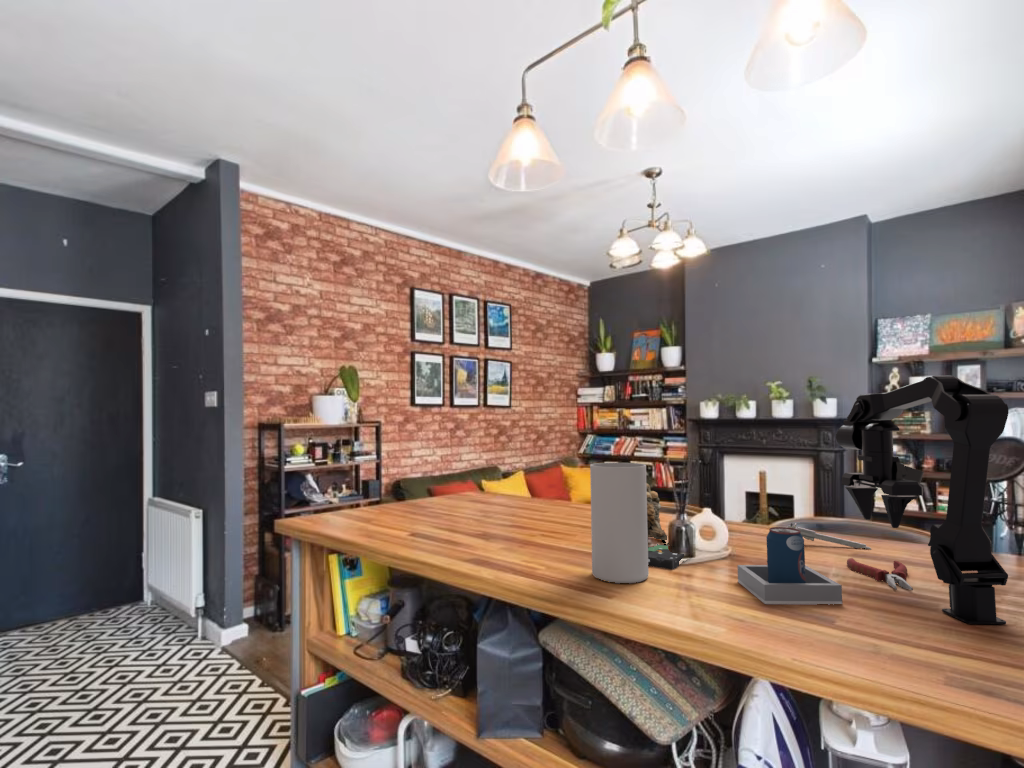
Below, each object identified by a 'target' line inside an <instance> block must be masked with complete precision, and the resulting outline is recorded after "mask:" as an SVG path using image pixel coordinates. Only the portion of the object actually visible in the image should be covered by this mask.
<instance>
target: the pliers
mask: <svg viewBox="0 0 1024 768" xmlns="http://www.w3.org/2000/svg"><path fill="white" fill-rule="evenodd" d="M846 566H847V567H848V568H849V569H850V570H851V569H852V570H851V571H853V570H854V571H853V572H855V571H856V572H855V573H858V572H859V573H858V574H861V573H862V574H861V575H864V574H865V575H864V576H867V575H868V576H867V577H870V576H871V577H870V578H873V577H874V579H875V581H876V580H877V581H876V582H886V584H887V583H888V584H887V585H888V586H890V587H892V588H893V589H895V590H897V585H898V584H899V585H898V586H899V587H900V586H901V587H900V588H902V587H903V588H902V589H905V590H910V591H913V590H914V589H913V587H912V586H911V585H910V583H908V582H907V575H908V567H906V565H905V564H903V563H902V562H900V561H898V560H894V561H893V565H892V566H893V570H891V573H889V572H890V571H887V570H885V569H881V568H877V567H873V566H871V565H868V564H864V563H861V562H858V561H856V559H854V558H853V557H850V558H849V557H848V559H847V560H846ZM894 568H895V569H894ZM881 580H883V581H881ZM895 583H898V584H895Z"/></svg>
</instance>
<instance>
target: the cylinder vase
mask: <svg viewBox="0 0 1024 768" xmlns="http://www.w3.org/2000/svg"><path fill="white" fill-rule="evenodd" d="M589 466H590V468H589V470H590V474H589V475H590V520H591V522H590V523H591V524H590V525H591V526H590V527H591V530H590V531H591V534H590V536H591V574H592V576H594V578H596V579H597V578H599V579H601V580H600V581H602V580H605V581H609V582H608V583H610V582H615V583H614V584H620V583H629V584H637V583H640V582H643V581H646V580H647V579H648V578H649V573H650V572H649V566H648V529H647V486H646V483H647V465H646V464H644V463H638V462H637V463H635V462H598V463H590V465H589ZM599 579H598V580H599ZM605 581H604V582H605ZM636 582H637V583H636Z"/></svg>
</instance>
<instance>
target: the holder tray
mask: <svg viewBox="0 0 1024 768" xmlns="http://www.w3.org/2000/svg"><path fill="white" fill-rule="evenodd" d="M805 574H806V583H769V582H768V568H767V564H737V582H738V583H739V584H740V585H741V586H742V587H743V588H745V589H746V590H747V591H748V592H749V593H751V594H752V595H754V597H756V598H757V599H758V600H759V601H760V602H762V604H765V605H817V604H828V605H829V606H830V604H833V605H834V604H842V605H843V590H842V589H843V588H842V587H843V586H842V584H840V583H838V582H836V581H835V580H833V579H832V578H829V577H827V576H825V575H824V574H822V573H821V572H818V571H816V570H815V569H813V568H811V567H809V566H808V565H806V564H805ZM833 605H832V606H833Z"/></svg>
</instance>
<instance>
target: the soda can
mask: <svg viewBox="0 0 1024 768" xmlns="http://www.w3.org/2000/svg"><path fill="white" fill-rule="evenodd" d="M787 527H788V526H786V527H784V526H774V527H769V531H768V533H767V535H766V560H767V562H766V563H767V564H766V565H767V568H768V582H769V583H806V574H805V565H806V557H805V556H806V555H805V538H804V537H802V535H801V533H800V530H798V529H794V528H787Z"/></svg>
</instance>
